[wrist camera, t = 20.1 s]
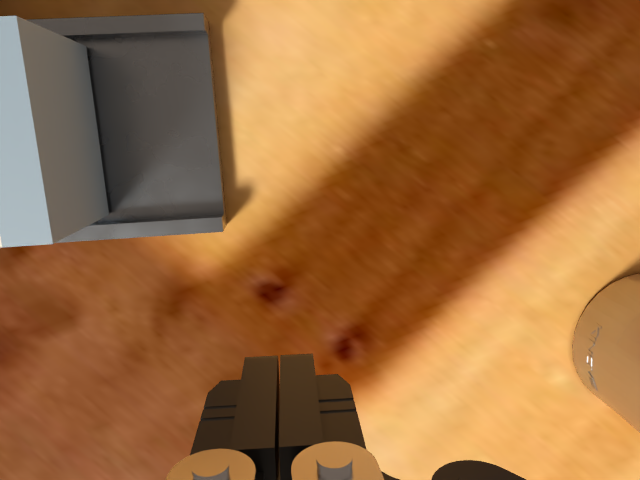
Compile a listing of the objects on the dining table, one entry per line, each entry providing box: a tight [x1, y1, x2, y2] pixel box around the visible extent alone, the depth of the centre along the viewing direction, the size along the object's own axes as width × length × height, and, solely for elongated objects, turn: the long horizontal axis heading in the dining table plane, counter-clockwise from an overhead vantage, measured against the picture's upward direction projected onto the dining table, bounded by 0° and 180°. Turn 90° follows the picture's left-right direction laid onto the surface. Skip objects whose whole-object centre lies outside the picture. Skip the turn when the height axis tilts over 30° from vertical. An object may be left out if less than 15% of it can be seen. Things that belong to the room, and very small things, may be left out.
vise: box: [27, 13, 227, 243], centre depth 25 cm, size 18×11×9 cm, turn 93°
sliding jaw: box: [0, 16, 109, 247], centre depth 25 cm, size 3×9×8 cm, turn 3°
